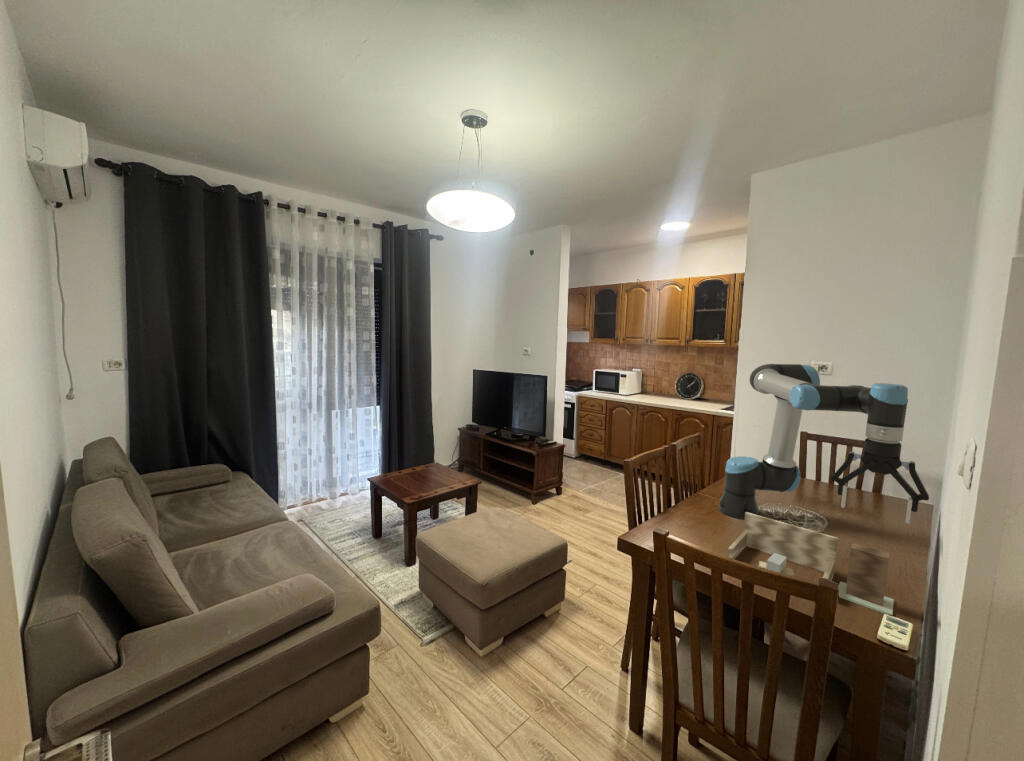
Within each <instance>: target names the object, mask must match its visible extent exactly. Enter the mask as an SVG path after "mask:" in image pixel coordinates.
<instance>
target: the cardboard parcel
mask: <svg viewBox="0 0 1024 761" xmlns="http://www.w3.org/2000/svg"><path fill="white" fill-rule="evenodd" d="M849 552H850V553H849V559H848V560H849V562H848V572H847V579H846V583H847V587H846V594H849V595H851V596H854V597H857V598H860V599H863V600H866V601H868V602H871V603H874V604H877V605H880V606H883V601H884V596H885V592H886V585H887V584H886V583H887V576H888V568H889V559H890V552H886V551H883V550H879V549H876V548H872V547H869V546H864V545H861V544H858V543H854V542H852V544H851V546H850V551H849Z"/></svg>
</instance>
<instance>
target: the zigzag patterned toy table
mask: <svg viewBox="0 0 1024 761" xmlns="http://www.w3.org/2000/svg"><path fill="white" fill-rule="evenodd" d="M743 522H744V523H743V524H744V525H743V532H742V533H741V534H740V535H738V537H737V538H736V539H735V540H734V541H733V542H732V544H731V545H729V546H728V548H727V558H732V559H735V560H736V559H737V558H735V557H739V555H740V554H741V553H742V552H743V551H744V550H745V548H747V546H748V548H751V549H754V550H756V549H757V551H759V550H760V552H762V551H763V553H765V554H768V555H771V556H772V555H773V554H774V553H777V554H780V555H782V556H785V557H787V561H789V562H793V563H796V564H798V565H801V566H804V567H808V568H810V569H813V570H816V571H819V572H823V573H824V574H823V576H822V578H826V579H829V580H832V581H833V578H834V575H835V572H836V571H835V569H836V559H837V553H838V552H837V551H838V540H839V538H838V537H837V536H833V535H830V534H829V535H828V534H826V533H822V532H819V531H816V530H812V529H809V528H804V527H802V526H799V525H794V524H790V523H786V522H783V521H779V520H776V519H773V518H770V517H765V516H763V515H760V514H759V515H755V514H752V513H748V512H746V513H745V519H744V521H743ZM742 550H743V551H742ZM740 552H741V553H740Z"/></svg>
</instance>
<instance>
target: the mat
mask: <svg viewBox="0 0 1024 761" xmlns="http://www.w3.org/2000/svg"><path fill="white" fill-rule="evenodd" d="M838 587H839V597H838V598H841V599H843V600H846V601H848V602H851V603H854V604H857V605H859V606H862V607H865V608H868V609H870V610H873V611H877V612H878V613H881V614H884V613H885V615H887V614H890V615H892V616H893V613H894V603H895V602H894V598H891V597H888V596H885V595H884V601H883V606H880V605H877V604H874V603H871V602H868V601H866V600H863V599H860V598H857V597H854V596H851V595H849V594H846V587H847V582H844V581H839V583H838ZM890 615H889V616H890Z"/></svg>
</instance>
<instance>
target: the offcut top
mask: <svg viewBox="0 0 1024 761" xmlns="http://www.w3.org/2000/svg"><path fill="white" fill-rule="evenodd" d="M787 561H788V560H787V557H785V556H782V555H780V554H777V553H774V554H773V555H771V556H769V558H768V559H767V560H766V563H767V566H766V569H768V570H772V571H775V572H779V573H781V572H782V570H783V569H784V568H785V567H786V568H787Z"/></svg>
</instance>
